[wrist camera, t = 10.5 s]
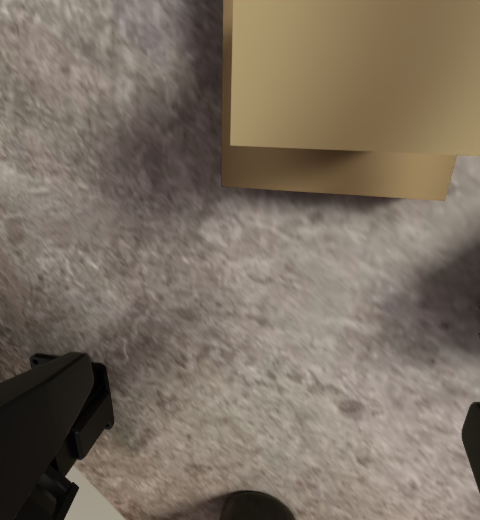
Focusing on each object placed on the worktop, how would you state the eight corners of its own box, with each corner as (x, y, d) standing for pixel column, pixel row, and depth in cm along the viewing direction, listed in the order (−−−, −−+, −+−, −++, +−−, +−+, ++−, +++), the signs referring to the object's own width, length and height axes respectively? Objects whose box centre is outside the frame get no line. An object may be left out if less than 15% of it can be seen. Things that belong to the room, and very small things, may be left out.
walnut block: (233, 178, 19) (221, 186, 16) (239, -47, 15) (224, -87, 12) (422, 189, 17) (444, 200, 14) (481, -60, 13) (527, -110, 10)
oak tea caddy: (272, 137, 15) (229, 145, 7) (281, -12, 13) (238, -267, 5) (400, 142, 14) (535, 158, 6) (432, -17, 12) (711, -347, 4)
